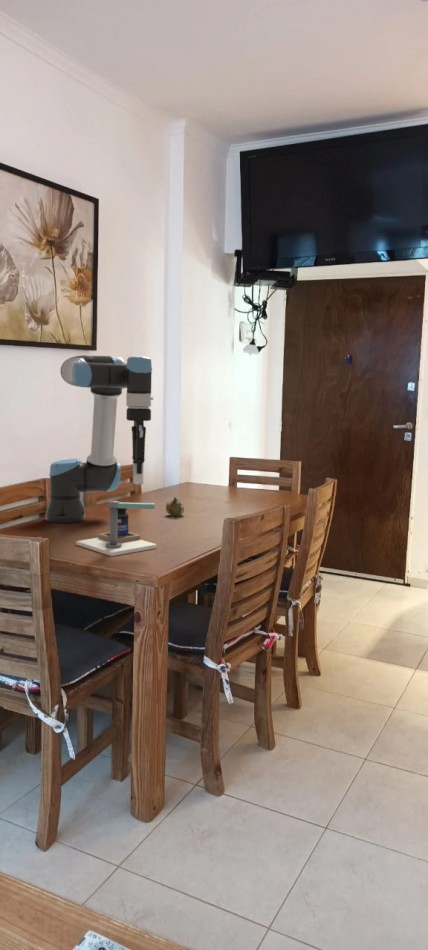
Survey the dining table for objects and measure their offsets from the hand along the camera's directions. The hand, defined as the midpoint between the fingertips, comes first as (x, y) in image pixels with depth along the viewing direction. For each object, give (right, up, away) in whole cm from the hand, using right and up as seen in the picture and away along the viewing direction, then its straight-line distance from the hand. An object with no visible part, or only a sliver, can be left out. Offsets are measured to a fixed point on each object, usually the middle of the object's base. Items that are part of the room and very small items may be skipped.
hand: (138, 483), depth 220 cm
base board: (-8, -21, +12) cm, 26 cm away
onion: (+8, -14, +69) cm, 71 cm away
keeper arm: (-3, -8, +5) cm, 10 cm away
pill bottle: (-8, -19, +18) cm, 28 cm away
